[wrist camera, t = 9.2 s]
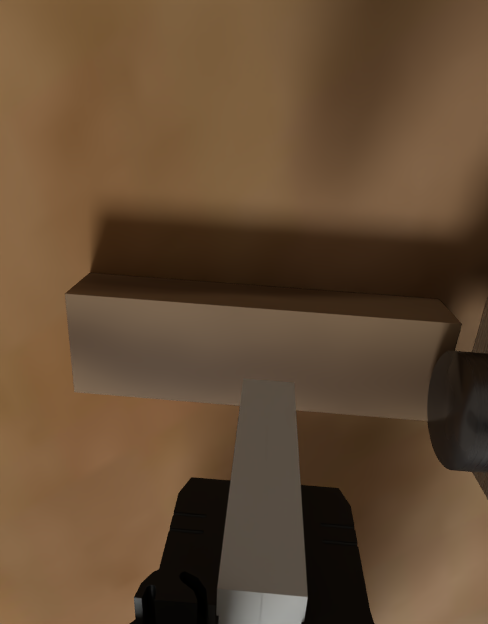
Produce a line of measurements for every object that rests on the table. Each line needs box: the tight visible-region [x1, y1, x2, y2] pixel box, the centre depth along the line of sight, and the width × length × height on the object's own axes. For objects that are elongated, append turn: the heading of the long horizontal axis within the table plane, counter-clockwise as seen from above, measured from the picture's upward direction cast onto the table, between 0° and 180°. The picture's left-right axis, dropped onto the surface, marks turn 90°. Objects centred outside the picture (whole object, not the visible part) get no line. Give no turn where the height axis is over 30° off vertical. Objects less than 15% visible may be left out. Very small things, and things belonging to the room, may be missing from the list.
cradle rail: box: [65, 273, 462, 421], centre depth 20 cm, size 4×15×3 cm, turn 87°
